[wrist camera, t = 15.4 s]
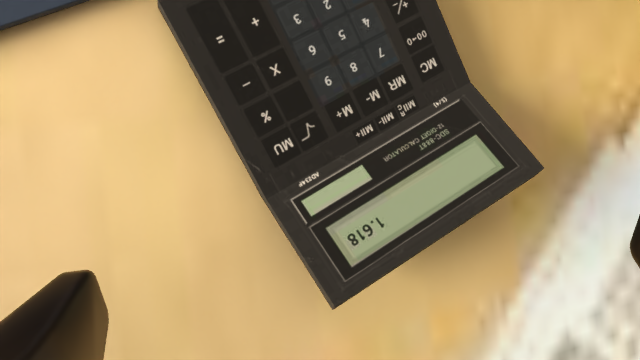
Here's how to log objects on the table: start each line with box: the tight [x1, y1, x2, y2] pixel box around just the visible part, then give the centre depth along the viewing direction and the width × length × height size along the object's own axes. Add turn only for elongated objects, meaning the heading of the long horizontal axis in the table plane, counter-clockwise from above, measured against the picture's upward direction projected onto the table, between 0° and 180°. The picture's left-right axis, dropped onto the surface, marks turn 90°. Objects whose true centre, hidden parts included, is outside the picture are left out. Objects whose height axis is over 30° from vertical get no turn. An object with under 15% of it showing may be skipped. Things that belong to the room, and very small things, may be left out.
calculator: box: [158, 0, 544, 310], centre depth 17 cm, size 9×12×3 cm
